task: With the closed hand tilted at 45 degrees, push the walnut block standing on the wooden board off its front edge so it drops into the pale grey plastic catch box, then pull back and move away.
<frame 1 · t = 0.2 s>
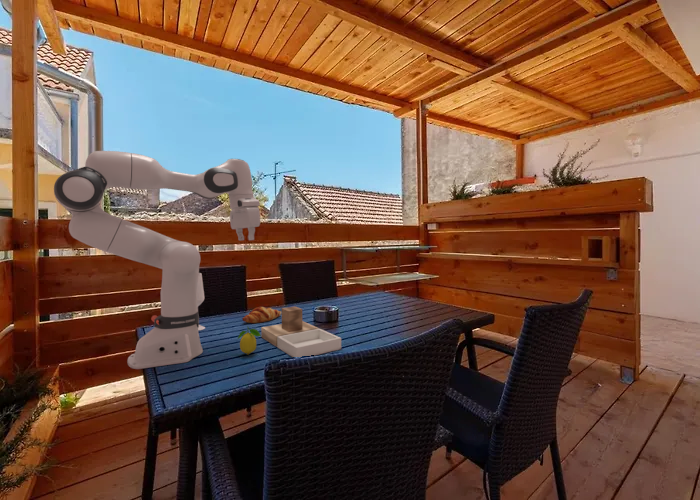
hand: (246, 240, 132), 39 cm above the table, tool pointing down, fingers open, 8 cm apart
catch box: (309, 348, 127), on the table
lemon: (248, 355, 120), on the table
wooden board: (289, 337, 139), on the table
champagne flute: (196, 329, 152), on the table
walnut block: (292, 328, 137), point 4 cm above the table, touching wooden board
croissant: (263, 320, 166), on the table
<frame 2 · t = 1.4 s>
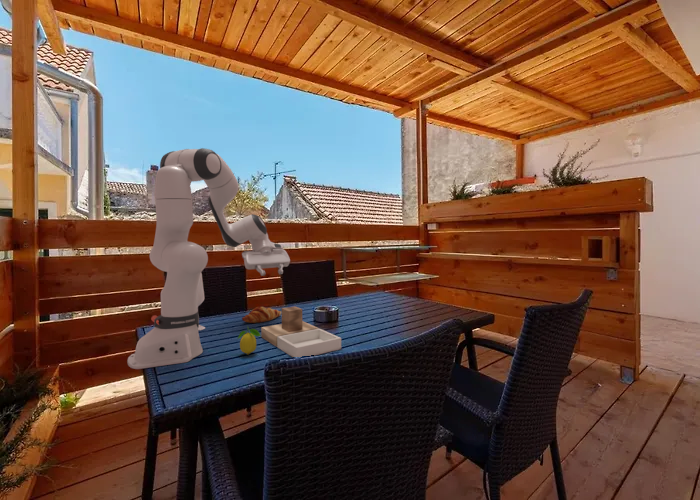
hand: (272, 274, 151), 24 cm above the table, tool tilted 45°, fingers open, 7 cm apart
nothing on the table moved.
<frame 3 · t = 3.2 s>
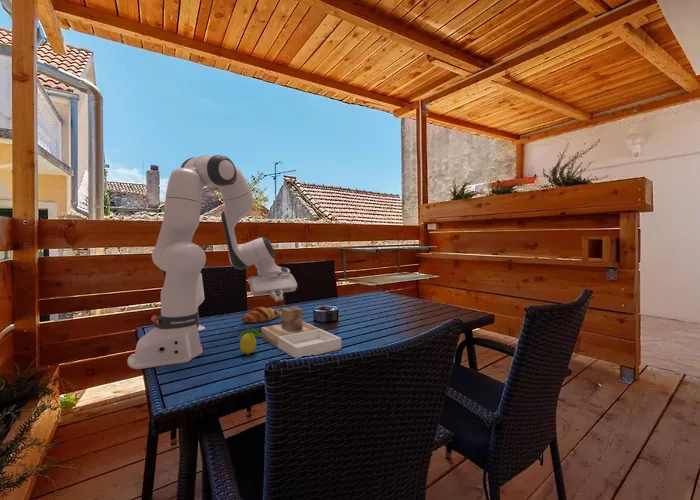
hand: (279, 300, 147), 13 cm above the table, tool tilted 45°, fingers closed
nothing on the table moved.
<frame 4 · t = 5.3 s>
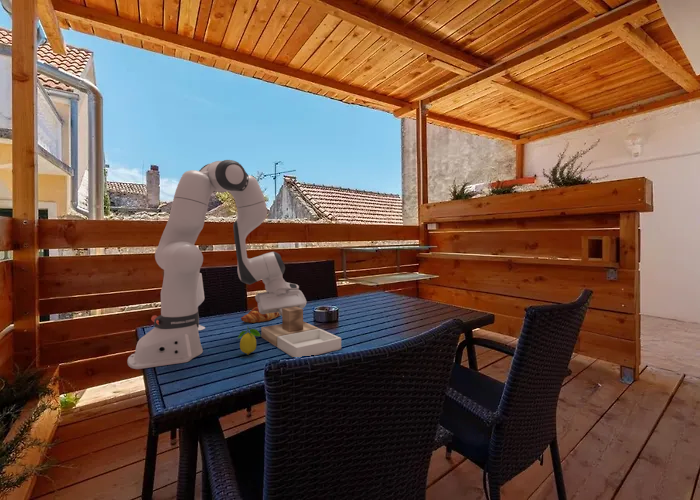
hand: (288, 318, 140), 7 cm above the table, tool tilted 45°, fingers closed, pressing on walnut block
walnut block: (292, 329, 137), point 4 cm above the table, touching gripper
everything else where it was.
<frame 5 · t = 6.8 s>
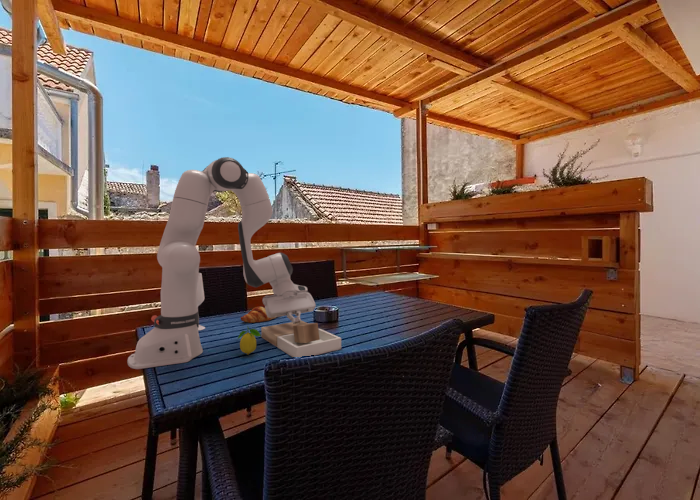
hand: (297, 322, 134), 7 cm above the table, tool tilted 45°, fingers closed
walnut block: (301, 332, 132), point 4 cm above the table, tilted 77°
everything else where it was.
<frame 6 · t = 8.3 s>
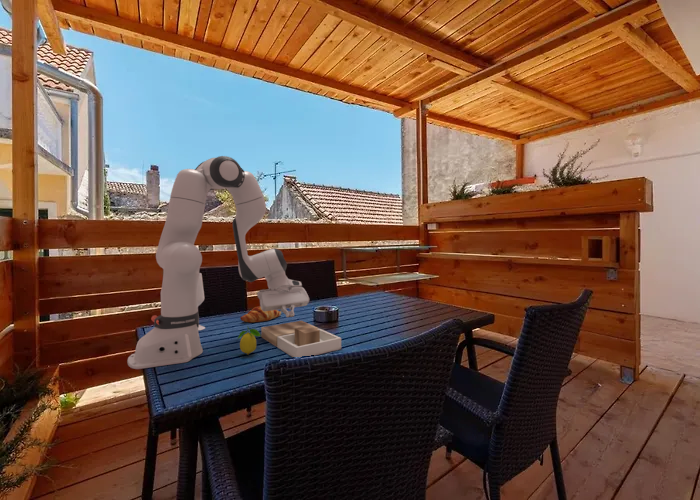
hand: (290, 316, 138), 9 cm above the table, tool tilted 45°, fingers closed
walnut block: (301, 334, 131), point 3 cm above the table, tilted 90°, touching catch box
everything else where it was.
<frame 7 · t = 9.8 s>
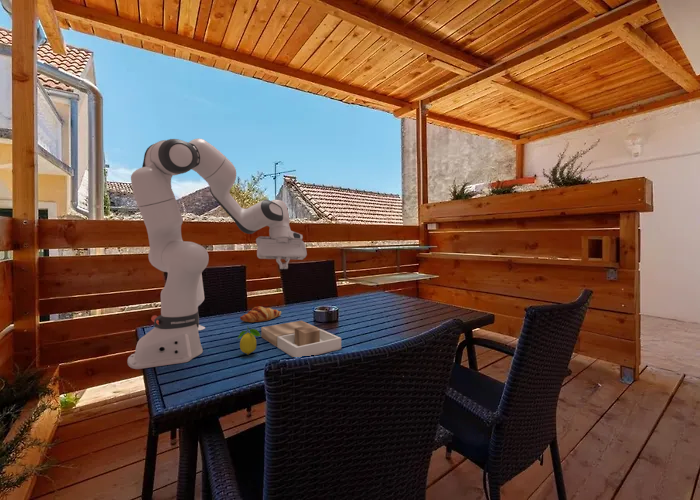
hand: (283, 268, 140), 27 cm above the table, tool tilted 25°, fingers closed
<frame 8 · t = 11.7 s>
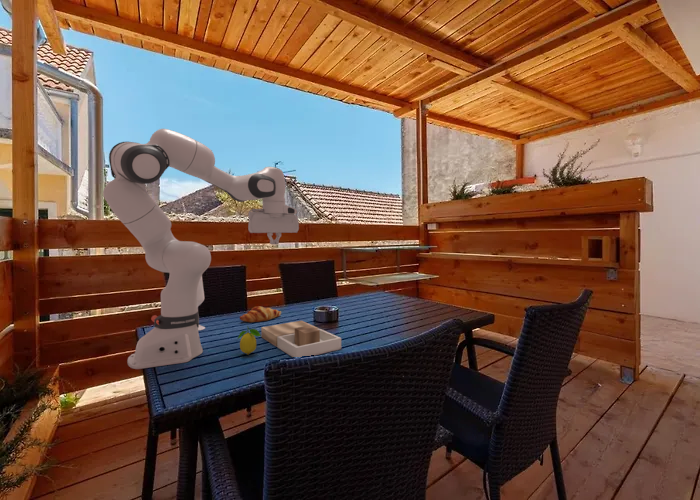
hand: (274, 244, 139), 37 cm above the table, tool pointing down, fingers closed
at the end: walnut block inside the target area on the catch box (5.9 cm from its centre), point 3.5 cm above the catch box's base; walnut block touching catch box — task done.
